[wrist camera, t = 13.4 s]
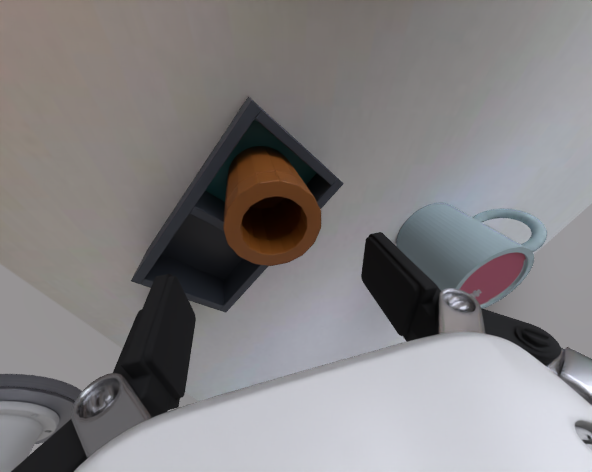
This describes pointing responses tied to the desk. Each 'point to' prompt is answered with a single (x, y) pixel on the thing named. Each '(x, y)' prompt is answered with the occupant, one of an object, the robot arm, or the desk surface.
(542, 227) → the mug
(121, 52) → the desk surface
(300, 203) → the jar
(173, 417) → the robot arm
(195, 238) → the divided tray
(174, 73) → the desk surface
